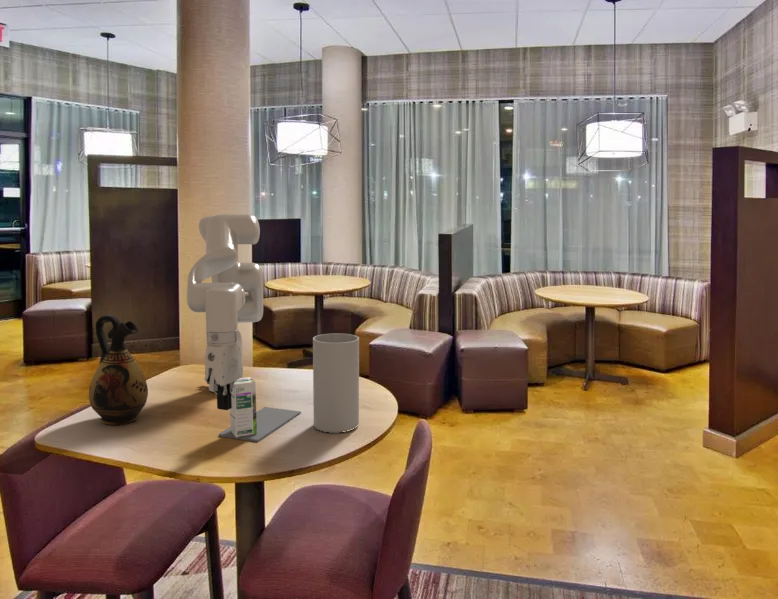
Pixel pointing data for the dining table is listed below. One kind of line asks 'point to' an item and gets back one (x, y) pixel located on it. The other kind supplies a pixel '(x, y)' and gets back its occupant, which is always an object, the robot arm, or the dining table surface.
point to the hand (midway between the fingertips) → (224, 408)
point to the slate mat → (265, 423)
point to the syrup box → (243, 408)
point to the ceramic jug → (117, 376)
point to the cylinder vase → (336, 382)
